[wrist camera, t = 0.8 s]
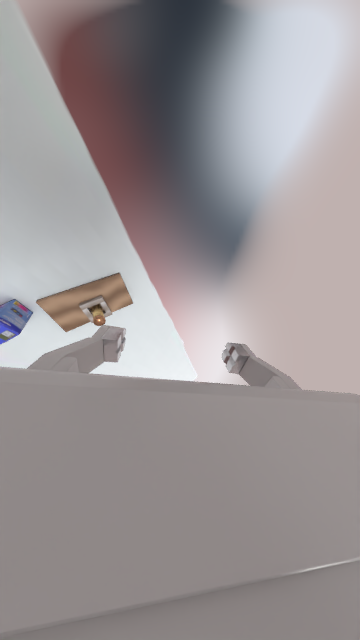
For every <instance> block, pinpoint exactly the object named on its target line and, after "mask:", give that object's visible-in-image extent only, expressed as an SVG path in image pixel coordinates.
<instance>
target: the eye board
mask: <svg viewBox="0 0 360 640" xmlns="http://www.w3.org/2000/svg"><path fill="white" fill-rule="evenodd" d="M36 303H37V304H38V305H39V306H40V307H41V308H42V309H43V310H44V311H45V312H46V313H47V314H48V315H49V316H50V317H51V318H52V319H53V320H54V321H55V322H56V323H57V324H58V325H59V326H60V327H61V328H62V329H63V330H64V331H65V332H68V331H70V330H72V329H75V328H77V327H79V326H82V325H84V324H86V323H88V322H92V323H94V322H93V315H92V309H91V307H92V306H94V305H97V304H99V305H100V306H101V308H102V311H103V314H104V318H105V317H107V316H110V315H112V312H114V311H116V310H119V309H121V308H123V307H126V306H128V305H130V304H133V302H132V300H131V297H130V295H129V293H128V291H127V289H126V286H125V284H124V282H123V280H122V278H121V275H120V274H119V273H117V274H114V275H111V276H108V277H105V278H102V279H99V280H96V281H93V282H90V283H87V284H84V285H81V286H78V287H75V288H72V289H69V290H66V291H63V292H60V293H57V294H54V295H51V296H48V297H45V298H42V299H39V300H37V301H36Z"/></svg>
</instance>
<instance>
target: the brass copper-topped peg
mask: <svg viewBox="0 0 360 640" xmlns="http://www.w3.org/2000/svg"><path fill="white" fill-rule="evenodd" d="M91 309H92V315H93V322H94V324H95V325H97V326H101V325H103V324H105V321H106V320H105V318H104V314H103V311H102V308H101V306H100V305H99V304H97V305H94V306H92V307H91Z"/></svg>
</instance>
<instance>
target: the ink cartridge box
mask: <svg viewBox="0 0 360 640" xmlns="http://www.w3.org/2000/svg"><path fill="white" fill-rule="evenodd" d="M32 314H33V313H32V312H31V311H30V310H28V309H27V308H26V307H24V306H23V305H22V304H20V303H19V302H18V301H16V300H15V299H14V300H11V301H9V302H7V303H5V304H3V305H1V306H0V344H2V343H5V342H7V341H8V340H10V339H12V338H14V337H15V336H17V335H19V334H20V333H21V331H22V330H23V328H24V327H25V325H26V323H27V322H28V320H29V319H30V317H31V315H32Z"/></svg>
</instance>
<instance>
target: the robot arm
mask: <svg viewBox="0 0 360 640" xmlns="http://www.w3.org/2000/svg"><path fill="white" fill-rule="evenodd" d="M125 334H126V329H125V328H120V327H113V326H106V325H102V326H101V327H100V328H99V329H98V331H97V332H96V333H95V334H94V335H93V336H92V337H91V338H86V339H83V340H81V341H78V342H75V343H72V344H70V345H67V346H64V347H62V348H59V349H56V350H54V351H51V352H48V353H46V354H44V355H42V356H41V357H40V358H39V359H38V360H36V361H35V362H34V363H33V364H32V365H30V366H29V367H28V368H27V369H23V368H10V367H0V640H360V396H359V395H357V394H351V393H338V392H325V391H312V390H302V389H301V388H300V387H299V386H298V385H297V384H296V383H295V382H294V381H293V380H292V379H291V378H290V377H289V376H287V375H286V374H284V373H282V372H281V371H279V370H278V369H276V368H274V367H272V366H271V365H269V364H268V363H266V362H264V361H263V360H261V359H260V358H257V357H256V356H255V355H254V353H253V352H252V351H251V350H250V349H249V348H248V347H247V345H245V344H236V343H227V344H226V349H225V350H224V351H223V353H222V359H223V361H224V363H226V367H227V369H228V371H229V373H236V374H239V375H240V376H241V377H242V378H243V379H244V380H245V381H246V382H247V383H248V384H249V385H250V386H246V385H233V384H220V383H207V382H193V381H180V380H167V379H154V378H141V377H128V376H115V375H102V374H89V372H91V371H92V370H94V369H95V368H96V367H98V366H99V365H101V364H102V363H103V362H104V361H105V362H118V360H119V358H120V356H121V352H122V351H123V349H124V346H125V337H124V336H125Z"/></svg>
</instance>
